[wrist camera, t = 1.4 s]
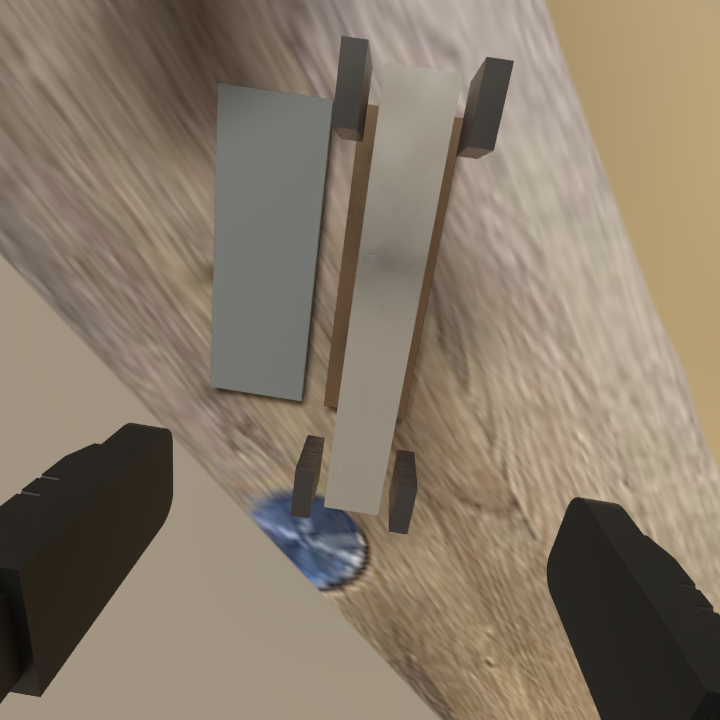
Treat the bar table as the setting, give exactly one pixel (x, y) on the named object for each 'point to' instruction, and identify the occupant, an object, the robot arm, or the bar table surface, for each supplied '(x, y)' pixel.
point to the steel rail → (389, 276)
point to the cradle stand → (359, 125)
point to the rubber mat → (267, 236)
